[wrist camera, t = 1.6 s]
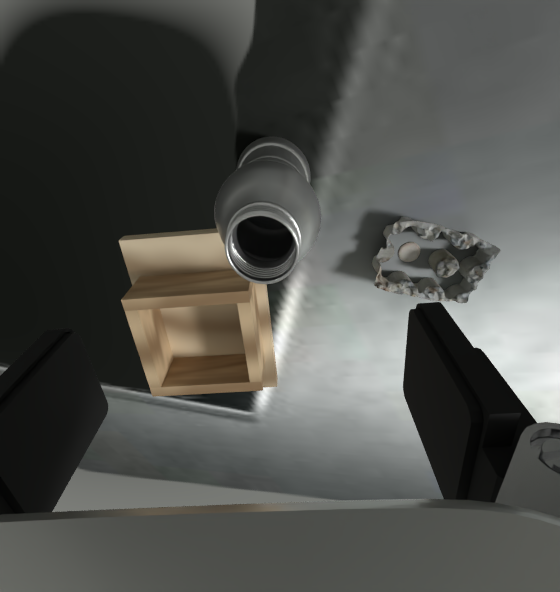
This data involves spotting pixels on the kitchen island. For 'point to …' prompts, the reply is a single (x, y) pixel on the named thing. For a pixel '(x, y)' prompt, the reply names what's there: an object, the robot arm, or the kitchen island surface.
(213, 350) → the tan wooden box
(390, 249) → the grey rocky tray
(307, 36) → the kitchen island surface
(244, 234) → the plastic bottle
